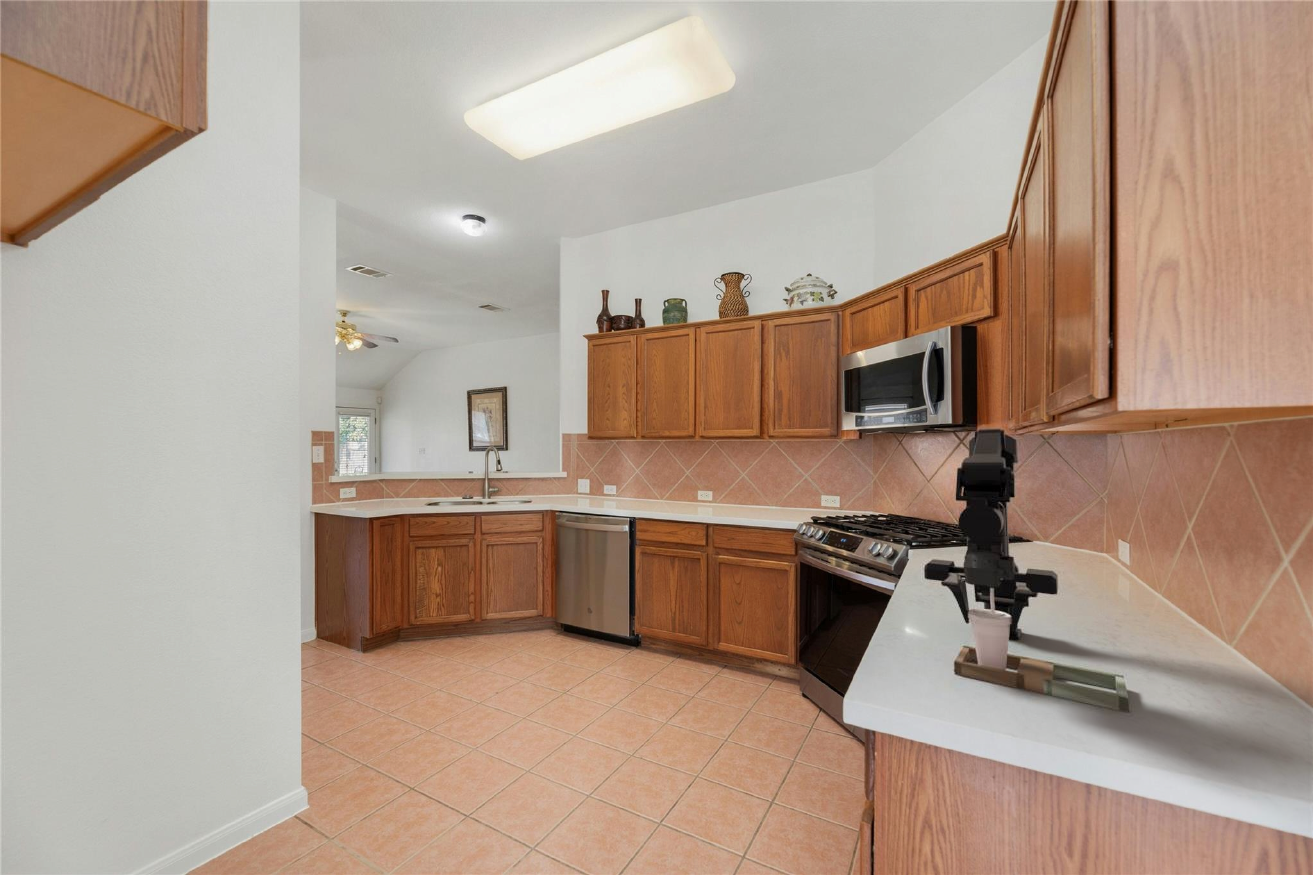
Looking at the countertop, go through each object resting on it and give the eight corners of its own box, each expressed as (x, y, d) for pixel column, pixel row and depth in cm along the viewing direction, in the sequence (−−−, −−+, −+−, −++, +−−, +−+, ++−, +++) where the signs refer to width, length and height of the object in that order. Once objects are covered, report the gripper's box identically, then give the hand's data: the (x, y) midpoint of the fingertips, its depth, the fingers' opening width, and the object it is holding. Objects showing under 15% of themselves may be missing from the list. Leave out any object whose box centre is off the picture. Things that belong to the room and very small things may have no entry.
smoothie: (1022, 681, 83) (1018, 593, 84) (979, 678, 84) (975, 592, 85) (1004, 665, 89) (1000, 584, 90) (964, 663, 90) (960, 583, 91)
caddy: (964, 656, 93) (963, 645, 93) (1124, 688, 80) (1123, 675, 80) (954, 673, 86) (954, 661, 86) (1129, 712, 72) (1128, 697, 72)
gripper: (915, 535, 87) (918, 628, 87) (1053, 545, 76) (1058, 653, 75) (929, 528, 96) (933, 612, 95) (1055, 536, 84) (1060, 632, 83)
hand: (990, 626), depth 87 cm, fingers closed on smoothie, 6 cm apart
